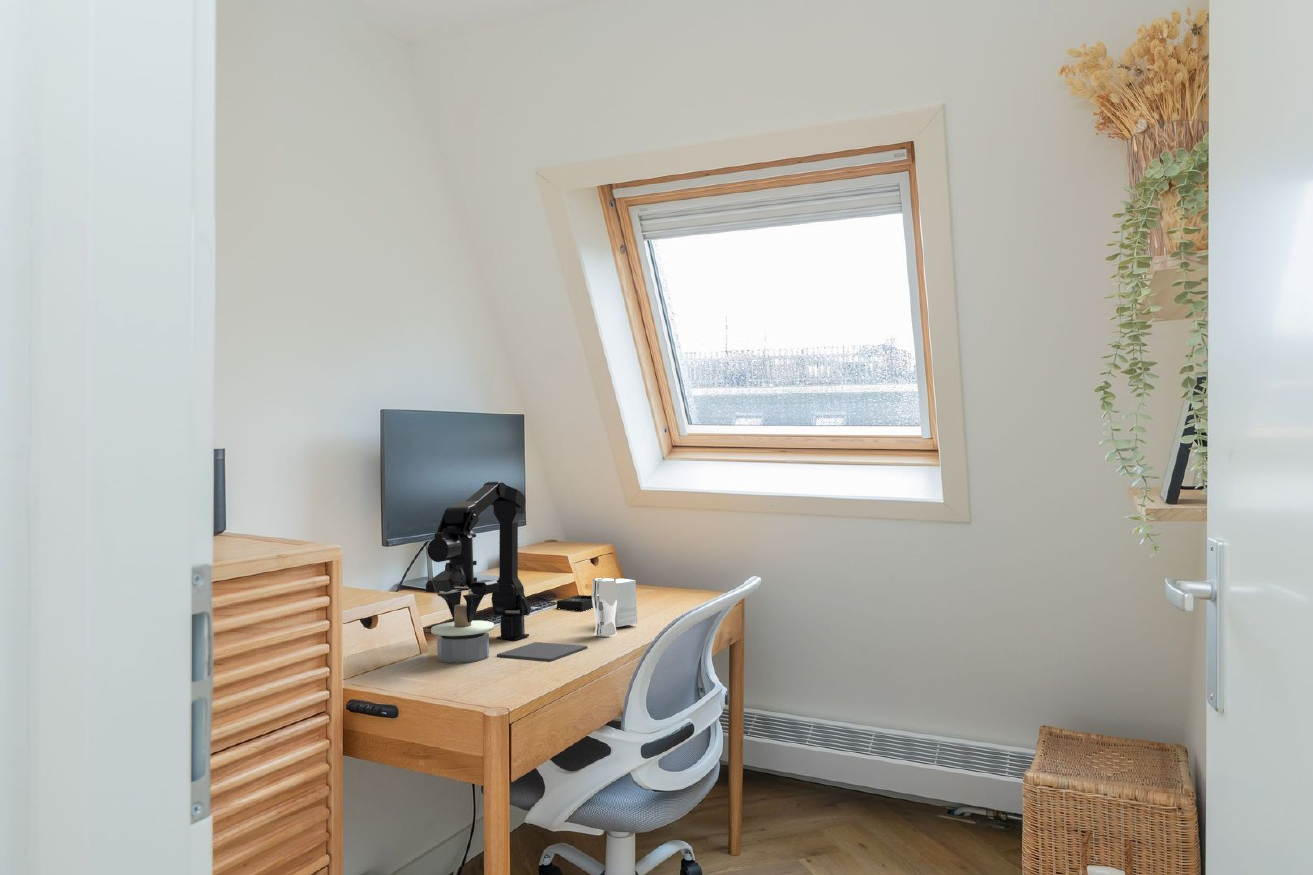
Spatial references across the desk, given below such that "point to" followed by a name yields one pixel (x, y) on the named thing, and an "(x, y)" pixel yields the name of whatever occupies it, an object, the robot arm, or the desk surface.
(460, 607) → the lid
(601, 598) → the beer glass
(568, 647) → the mat
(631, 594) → the supplement box
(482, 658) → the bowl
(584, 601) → the battery charger
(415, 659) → the desk surface
